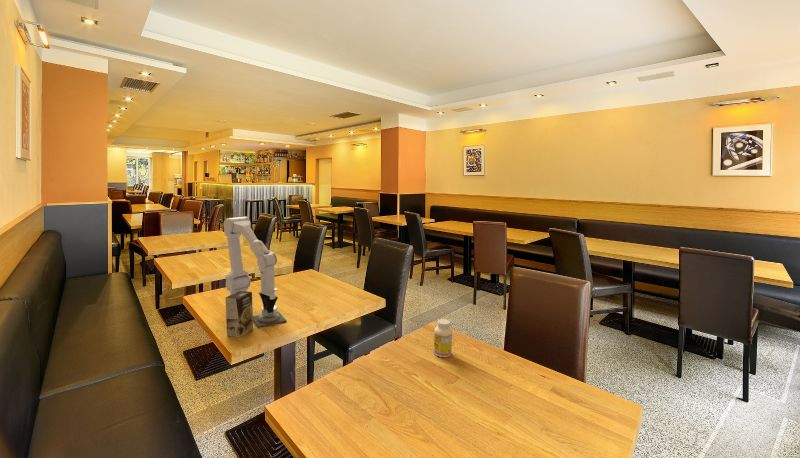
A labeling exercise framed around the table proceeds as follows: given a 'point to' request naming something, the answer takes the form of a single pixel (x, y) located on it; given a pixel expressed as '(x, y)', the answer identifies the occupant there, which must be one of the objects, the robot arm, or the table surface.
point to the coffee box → (239, 313)
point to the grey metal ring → (266, 314)
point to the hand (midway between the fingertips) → (268, 310)
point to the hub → (268, 320)
